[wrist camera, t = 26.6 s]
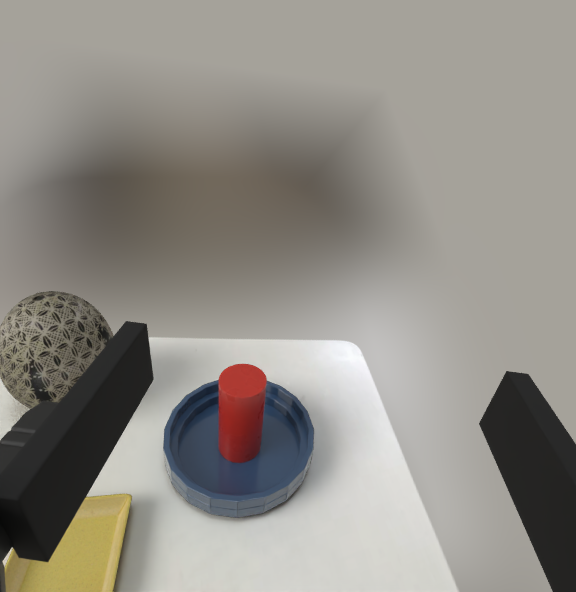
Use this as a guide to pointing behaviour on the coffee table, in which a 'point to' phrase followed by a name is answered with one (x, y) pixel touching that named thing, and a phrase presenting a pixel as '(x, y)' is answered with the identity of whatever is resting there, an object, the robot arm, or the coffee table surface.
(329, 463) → the coffee table surface
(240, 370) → the cylinder
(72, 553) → the saucer
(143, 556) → the coffee table surface
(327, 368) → the coffee table surface
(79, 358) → the decorative egg
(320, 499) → the coffee table surface
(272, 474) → the dish
